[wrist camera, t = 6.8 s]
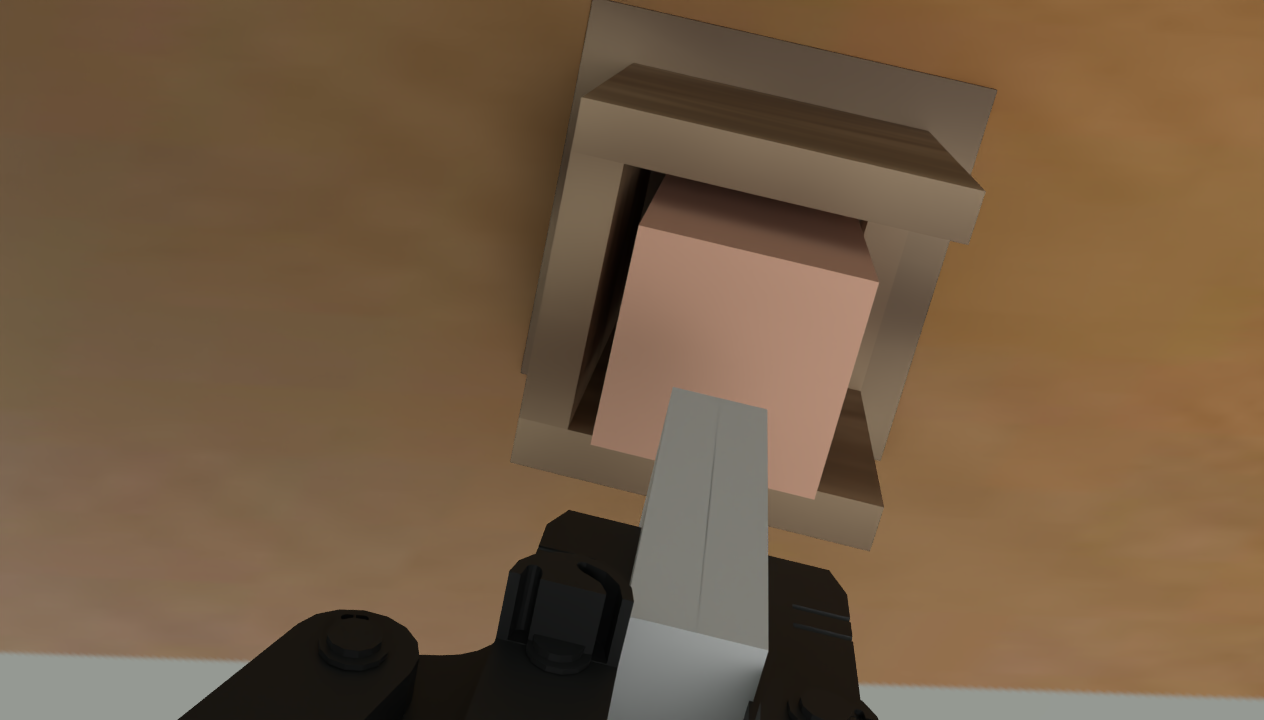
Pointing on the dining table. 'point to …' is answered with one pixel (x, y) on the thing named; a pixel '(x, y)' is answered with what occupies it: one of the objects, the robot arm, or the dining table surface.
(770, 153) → the holder
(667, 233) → the block
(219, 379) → the dining table surface
